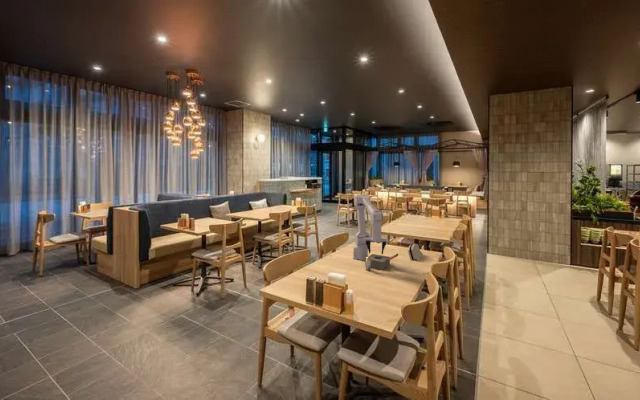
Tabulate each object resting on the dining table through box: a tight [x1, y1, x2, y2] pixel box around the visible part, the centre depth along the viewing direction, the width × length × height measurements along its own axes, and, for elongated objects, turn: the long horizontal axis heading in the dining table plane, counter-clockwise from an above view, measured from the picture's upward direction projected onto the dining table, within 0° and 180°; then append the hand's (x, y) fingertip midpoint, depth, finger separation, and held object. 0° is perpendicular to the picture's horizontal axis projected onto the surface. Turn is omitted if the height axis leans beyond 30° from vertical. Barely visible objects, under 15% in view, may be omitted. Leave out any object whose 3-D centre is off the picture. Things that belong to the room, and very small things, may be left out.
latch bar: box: [387, 253, 399, 261], centre depth 191 cm, size 7×4×1 cm
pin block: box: [365, 253, 391, 271], centre depth 197 cm, size 12×12×5 cm
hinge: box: [407, 243, 424, 262], centre depth 214 cm, size 17×5×10 cm, turn 150°
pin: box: [365, 256, 372, 272], centre depth 188 cm, size 3×3×8 cm
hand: (375, 253), depth 189 cm, fingers open, 7 cm apart
